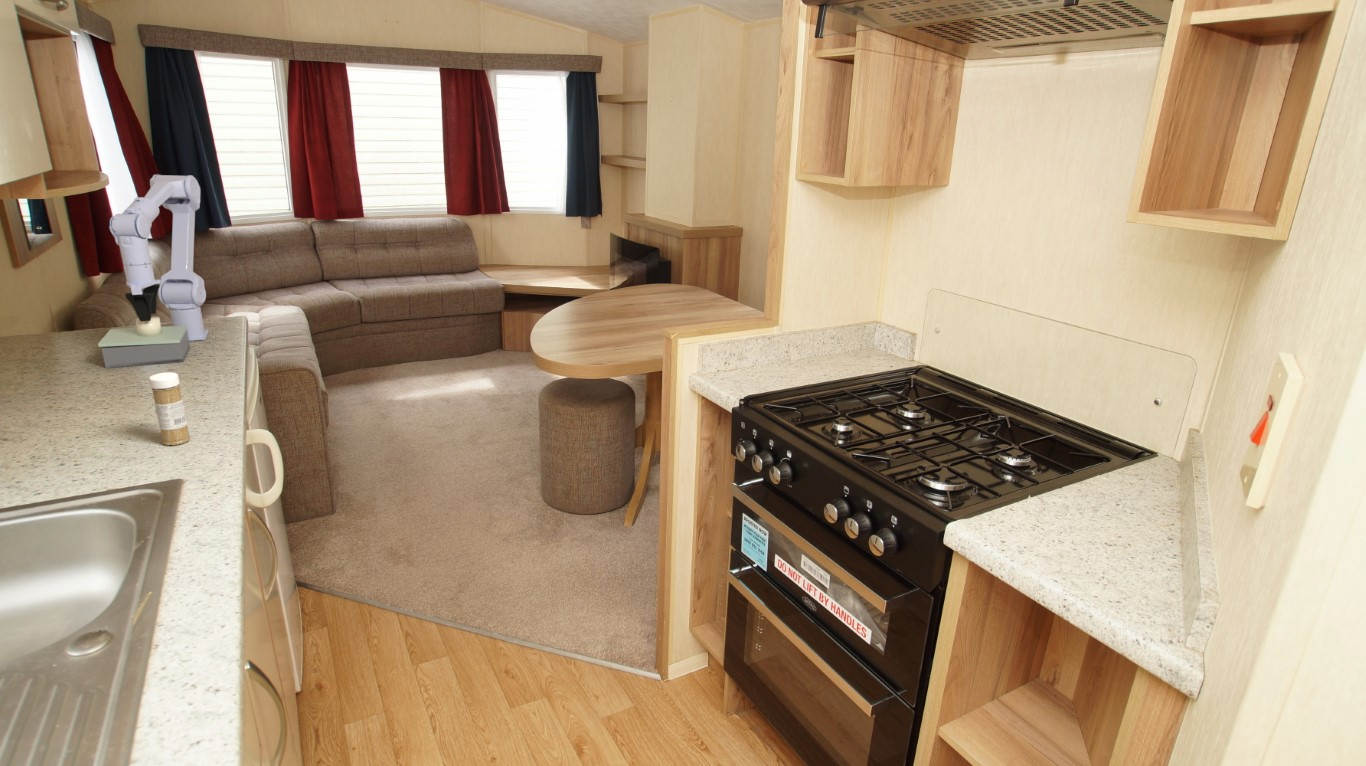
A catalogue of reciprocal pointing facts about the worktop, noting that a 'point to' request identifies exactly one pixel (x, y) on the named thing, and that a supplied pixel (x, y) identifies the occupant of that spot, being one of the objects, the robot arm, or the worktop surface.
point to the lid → (142, 337)
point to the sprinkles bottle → (169, 408)
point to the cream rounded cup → (149, 327)
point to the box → (146, 354)
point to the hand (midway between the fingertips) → (148, 317)
